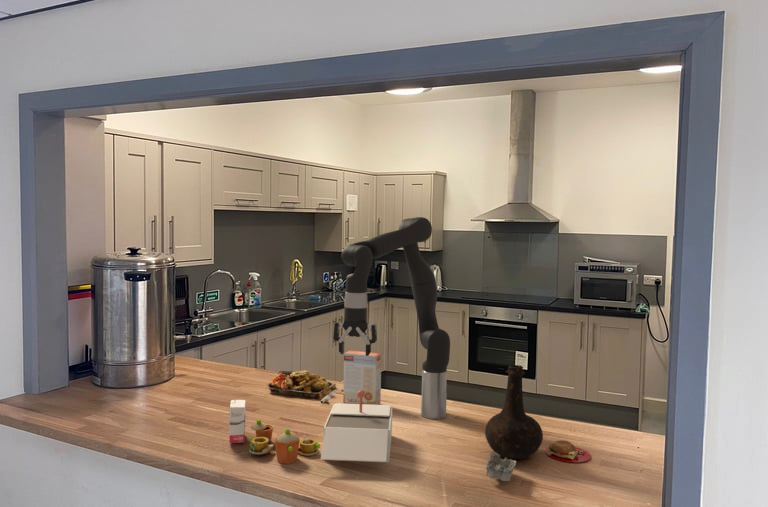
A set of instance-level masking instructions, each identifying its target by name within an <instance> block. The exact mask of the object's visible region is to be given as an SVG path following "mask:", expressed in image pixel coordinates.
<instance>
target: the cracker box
mask: <svg viewBox="0 0 768 507" xmlns="http://www.w3.org/2000/svg"><path fill="white" fill-rule="evenodd" d="M381 376H382V353H379V352H378V353H377V352H371V353H370V354H369V355H368V356H366V351H358V350H348V351H346V352H345V351H344V354H343V390H342V392H343V396H342V397H343V399H342V400H343V402H342V403H343V404H360V398H359V397H358V396H357V392H358V391H359V390H363V391H364V392H365V396H364V397H363V398H362V404H370V405H381V400H382V398H381V395H382V394H381V392H382V391H381V390H382V389H381V388H382V385H381V384H382V377H381Z"/></svg>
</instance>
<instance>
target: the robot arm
mask: <svg viewBox="0 0 768 507" xmlns="http://www.w3.org/2000/svg"><path fill="white" fill-rule="evenodd" d="M432 233H433V227H432V223H431V222H430V221H429V219H428V218H426V217H419V216H418V217H417V216H416V217H411V218H405V219H402V220H401V221H400V223H399V226H398V229H397V230H393V231H389V232H385V233H382V234H379V235H376V236H374V237H372V238H370V239H367V240H362V241H357V242H355V243H350V244H348V245H346V247H344V249H343V250H342V251H341V254H340V255H341V256H340V257H341V259H342V260H341V261H342V262H343V263H344V264H345V265H346V266H348V267H355V268H354V271H353V273H350V274H348V275H347V276H346V278H345V294H344V303H343V306H344V312H343V313H344V314H343V322H340V321H337V322H335V323H334V326H333V336H332V337H333V338H332V339H333V341H334V342H335V341H336V342H338V353H340V355H344V353H345V339H347V337H355V338H356V337H357V338H360V337H361V339H362V340H364V342H365V352H366V356H368V355H369V354H370V353H372V344H374V343H375V344H376V342H377V341H378V338H377V337H378V331H377V323H373V324H368V278H369V276H370V272H371V268H372V265H373V260H374V259H379V258H381V257H384V256H385V255H388V254H390V253H393V252H394V251H397V250H399V249H401V248H402V250H403V252H404V256H405V259H406V265H407V268H408V270H407V271H408V273H409V280H410V285H411V291H412V295H413V296H412V297H413V300H414V306H415V310H416V314H417V320H418V321H417V322H418V323H417V324H418V333H419V341H420V344H421V346H422V347H423V348H424V349H425V350H426V359H425V360H424V361H423V362H422V365H421V367H422V368H421V405H420V406H421V407H420V408H421V409H420V411H421V412H420V415H421V416H422V417H424V418H427V419H431V420H438V419H440V420H441V419H446V418H447V396H448V395H447V394H448V393H447V373H448V372H447V370H448V365H449V362H450V352H451V338H450V335H449V333H448V332H447V331H446V330H444V329H442V328H440V327H439V323H438V320H437V315H436V314H437V313H436V306H437V301H438V286H437V282H436V281H437V280H436V276H435V274H434V272H433V270H432V268H431V266H429V265H428V263H427V261H425V259H424V258H423V256H422V254H421V251H420V247H419V244H418V243H423V242H426V241H428V239H430V238H431V236H432ZM342 328H343V330H344V331H345V332H343V334H342V335H341V336H340V329H342ZM368 329H369V331H370V332H371V338H370V336H369V334H368V333H367V330H368Z"/></svg>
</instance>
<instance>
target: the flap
mask: <svg viewBox="0 0 768 507" xmlns="http://www.w3.org/2000/svg"><path fill="white" fill-rule="evenodd" d="M357 396H358V397H359V398H360V404H344V403H343V402H341V403H339V402H338V403H336V402H335V405H334V404H333V405H334V408H333V410H332V409H331V410H332V412H331V411H330V412H331V415H357V416H384V417H389V416H390V407H392V406H391V405H390V404H380V405H370V404H362V398H363V397H364V396H365V392H364V391H363V390H359V391H358V392H357Z"/></svg>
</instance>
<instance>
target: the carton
mask: <svg viewBox="0 0 768 507" xmlns="http://www.w3.org/2000/svg"><path fill="white" fill-rule="evenodd" d="M332 405H333V406H332V408H331V410H330V412H329V415H328V416H327V419H326V422H325V424H324V426H323V442H322V449H321V455H320V460H323V461H343V462H346V461H347V462H361V463H362V462H365V463H388V464H389V463H390V458H391V457H390V456H391V447H392V436H393V406H391V407H390V416H389V417H384V416H357V415H331V412H332V410H333V408H334V405H335V404H332Z"/></svg>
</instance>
